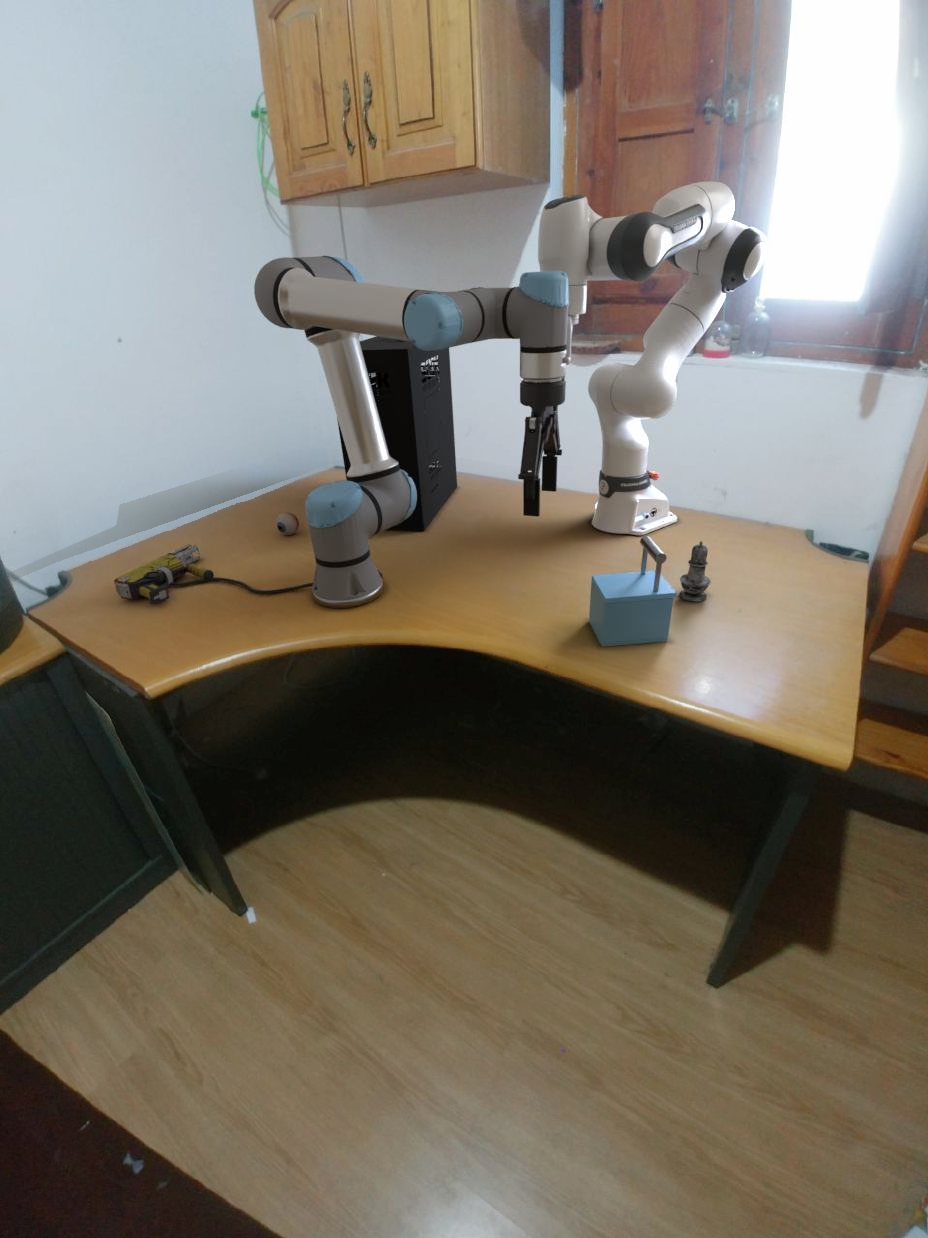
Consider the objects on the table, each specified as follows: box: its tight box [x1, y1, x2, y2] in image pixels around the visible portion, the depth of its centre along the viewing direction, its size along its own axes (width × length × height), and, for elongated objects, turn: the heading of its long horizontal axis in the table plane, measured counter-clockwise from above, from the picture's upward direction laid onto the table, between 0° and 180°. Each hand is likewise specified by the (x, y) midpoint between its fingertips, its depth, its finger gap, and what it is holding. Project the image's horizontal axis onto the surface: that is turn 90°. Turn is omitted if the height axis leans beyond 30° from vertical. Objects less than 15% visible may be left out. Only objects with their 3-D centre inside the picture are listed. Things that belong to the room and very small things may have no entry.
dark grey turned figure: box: [678, 540, 712, 603], centre depth 120 cm, size 6×6×12 cm
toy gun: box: [113, 543, 215, 606], centre depth 141 cm, size 5×24×15 cm
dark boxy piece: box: [336, 336, 458, 532], centre depth 169 cm, size 38×20×45 cm, turn 167°
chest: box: [588, 579, 674, 648], centre depth 111 cm, size 12×9×9 cm
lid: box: [591, 535, 677, 603], centre depth 107 cm, size 12×9×8 cm
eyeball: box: [275, 511, 300, 536], centre depth 163 cm, size 6×6×6 cm
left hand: (540, 502), depth 110 cm, fingers open, 13 cm apart
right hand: (559, 384), depth 116 cm, fingers open, 8 cm apart
